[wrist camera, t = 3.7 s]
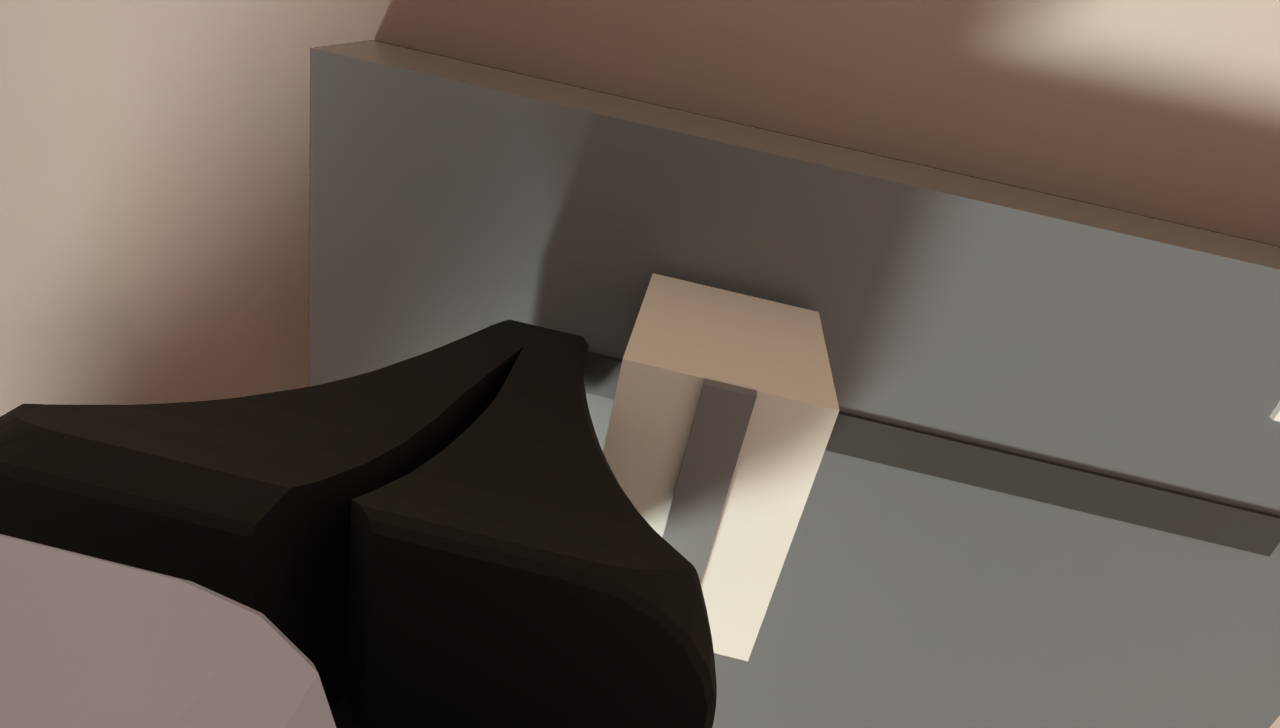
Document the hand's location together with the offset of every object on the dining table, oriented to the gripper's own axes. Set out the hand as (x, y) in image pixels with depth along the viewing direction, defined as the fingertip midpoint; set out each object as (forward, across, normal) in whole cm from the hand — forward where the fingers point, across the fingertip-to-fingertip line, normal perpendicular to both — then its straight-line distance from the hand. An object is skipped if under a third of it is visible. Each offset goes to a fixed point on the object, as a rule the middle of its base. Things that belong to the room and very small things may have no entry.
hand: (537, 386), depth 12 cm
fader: (+1, -3, 0) cm, 3 cm away
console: (+3, -5, +7) cm, 9 cm away
